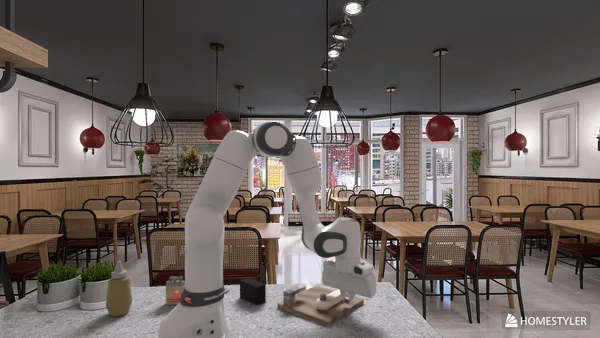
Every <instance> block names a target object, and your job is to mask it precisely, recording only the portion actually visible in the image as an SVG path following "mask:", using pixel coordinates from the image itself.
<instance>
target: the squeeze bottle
mask: <svg viewBox="0 0 600 338" xmlns="http://www.w3.org/2000/svg"><path fill="white" fill-rule="evenodd" d="M127 274H128V273H127V270H126V269H124V268H123V264H122V261H121V260H118V261H116V265H115V269H114V271H112V272H111V276H110V278H109V280H108V283H107V290H106V291H107V292H106V299H105V300H106V301H105V307H106V310H107V312H108V315H109V316H110V317H112V318H114V317H117V318H118V317H122V316H125V315H127V314H128V313H129V311H130V309H131V306H132V303H133V296H132V288H131V280H130V279H131V278H130V277H129V276H127Z"/></svg>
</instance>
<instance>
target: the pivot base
mask: <svg viewBox="0 0 600 338" xmlns="http://www.w3.org/2000/svg"><path fill="white" fill-rule="evenodd" d="M333 291H334V290H333V289H328V288H326V287H323V286H322V287H321V286H320V285H319V286H318V285H313V286H312V287H311V288H308V289H307V286H306V285H303V284H300V283H299V284H297V285H294V286H293V287H290V288H288V289H285V290H284V291H283V292H282V293H283V294H282V295H283V300H282V301H280V302H278V303H277V305H276V307H277V309H280V310H283V311H286V312H288V313H291V314H293V315H295V316H298V317H301V318H304V319H306V320H309V321H312V322H315V323H317V324H320V325H323V326H325V327H330V326H331V325H333V324H334V323H335V322H337V321H339V320H340V319H342V318H344V317H345V316H347V315H348V314H349V313H351V312H353V311H355V309H357V308H359V307H360V306H363V304H364V303H365V300H364V298H360V297H356V296H354V298H353V303H352V304H351V305H349V304H346V303H343V300H342V301H340V302H338V303H337V304H335V305H333V306H331V307H330V308H329V309H328V310H324V311H323V310H318V309H317V308H316V300H317V299H318V298H320V300H321V301H325V300H326V295H328V294H330V293H331V292H333ZM350 296H351V295H349V298H350ZM343 316H344V317H343Z"/></svg>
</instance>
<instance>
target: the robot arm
mask: <svg viewBox="0 0 600 338" xmlns="http://www.w3.org/2000/svg"><path fill="white" fill-rule="evenodd" d="M255 157H262V158H274V157H278V158H279V159H280V160H281V161H282V164H283V165H284V168H285V171H286V175H287V178H288V181H289V184H290V187H291V189H292V191H293V194H294V196H295V200H296V203H297V208H298V211H299V214H300V215H299V216H300V218H301V224H302V227H301V229H302V230H301V241H302V244H303V245H304V247H305V248H306V249H307V250H309V251H311V252H312V253H314V254H316V255H317V256H319V257H320V258H323V259H326V260H324V261H323V267H322V268H323V269H322V276H321V277H322V279H321V282H322V285H324V286H326V287H329V288H333V289H335V290H337V289H340V293H341V295H342V297H343V303H346V304H349V305H351V304H352V303H353V298H354V297H356V295H357V296H362V297H364V298H368V299H371V298H372V297H375V295H376V294H377V279H376V276H375V274H374V273H373V272H374V271H375V266H374V265H373V264H371V263H370V262H368V261H366V260H365V259H363V258H362V255H361V250H360V248H361V244H362V243H361V241H362V236H361V234H362V233H361V225H360V222H358V220H356V219H355V218H351V217H346V216H339V217H337V218H336V219H335V220H334V221H333V222H332V223H330V224H328V225H326V226H325V225H324V224H323V223H322V222H321V221H320V218H319V213H318V209H317V204H316V201H315V200H316V199H315V198H316V194H317V192H319V190H320V188H321V187H322V184H323V179H322V173H321V168H320V165H319V162H318V159H317V155H316V153H315V151H314V148H313V146H312V144H311V142H310V141H309V139H307V138H306V137H304V136H299V135H298V136H295V134H294V133H292V131H290V129H289V127H287V126H286V124H284V123H283V122H280V121H275V120H269V121H266V122H263V123H261V124H259V125H258V126H256V127H255V128H254V129H253V130H251V131H250V132H245V131H242V130H237V129H236V130H235V129H233V130H231V131H229V132H227V133H226V134H225V136H224V137H223V139H222V140H221V142H220V143H219V146H217V149H216V150H215V153H214V154H213V157H212V158H211V161H210V163H209V165H208V168H207V170H206V172H205V174H204V177H203V178H202V180H201V183H200V185H199V186H198V189H197V191H196V193H195V195H194V196H193V199H192V201H191V203H190V206H189V208H188V210H187V212H186V214H185V218H184V281H185V288H184V290H183V292H182V294H181V292H178V291H175V292H174V293H173V295H172V296H173V298H176V299H180V302H179V303H178V304H177V305H175V307H174V308H173V309H172V310H171V311H170V312H169V313H168V314H167V315H166V316H165V317H164V318H163V319H162V320H161V322H160V323H159V328H158V333H157V336H154V338H226V336H227V334H228V333H229V325H228V322H227V319H226V318H227V317H226V313H225V304H224V303H225V302H224V298H225V293H224V287H225V283H224V276H223V275H224V273H223V272H224V270H223V269H224V267H223V264H224V263H223V262H224V247H225V228H226V227H225V219H224V217H225V215H226V213H227V211H228V209H229V207H230V205H231V203H232V202H233V200H234V199H235V197H236V196H237V194H238V191H239V189H240V187H241V185H242V182H243V180H244V178H245V175H246V172H247V171H248V168H249V165H250V163H251V162H252V160H253V159H254V158H255ZM333 257H335V258H334V260H331V259H330V258H333ZM346 291H347V292H349V295H351V296H350V298H349V297H347V295H346Z"/></svg>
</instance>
